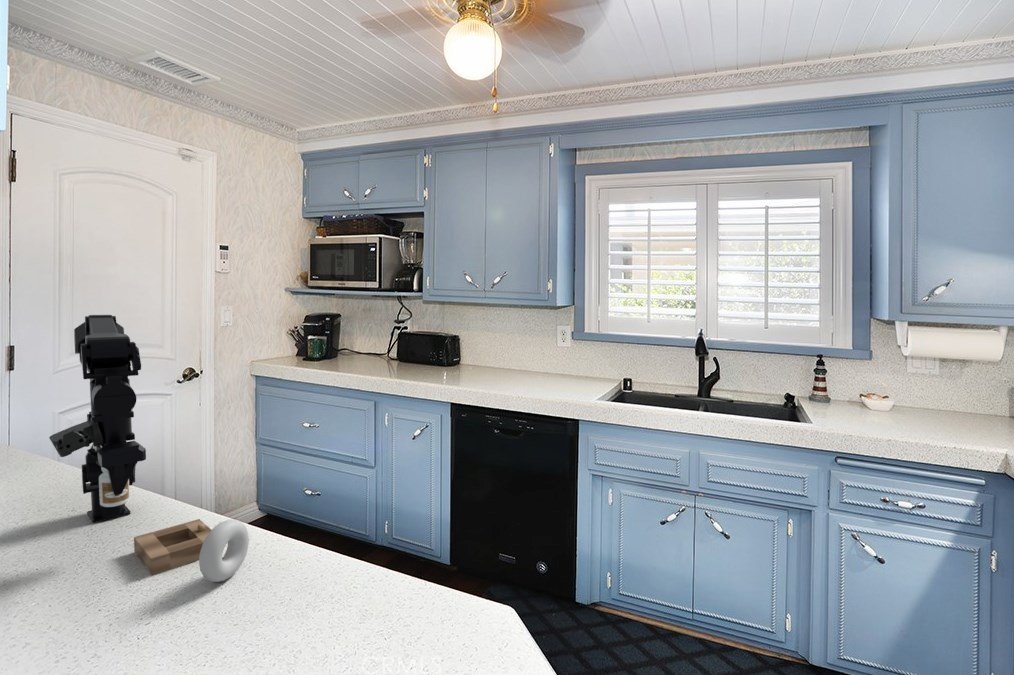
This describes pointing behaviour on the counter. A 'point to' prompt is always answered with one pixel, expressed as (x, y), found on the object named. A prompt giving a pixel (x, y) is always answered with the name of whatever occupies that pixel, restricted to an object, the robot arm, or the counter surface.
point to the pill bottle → (111, 492)
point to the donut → (214, 545)
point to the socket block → (171, 546)
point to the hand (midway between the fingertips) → (115, 490)
